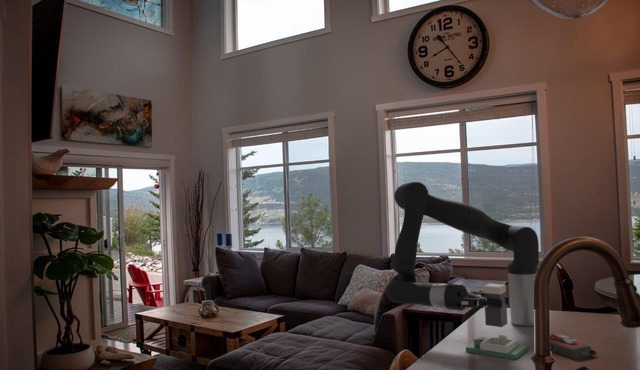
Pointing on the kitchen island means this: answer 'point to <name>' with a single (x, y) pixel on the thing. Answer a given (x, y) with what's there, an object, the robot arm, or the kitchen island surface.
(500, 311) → the grey and cream block
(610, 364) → the kitchen island surface
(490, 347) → the controller board
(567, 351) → the walkie-talkie
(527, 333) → the kitchen island surface
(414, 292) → the robot arm
